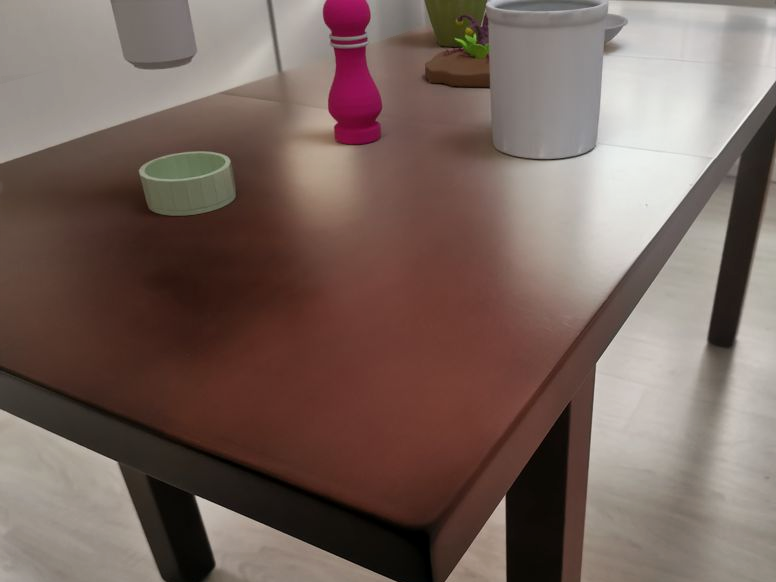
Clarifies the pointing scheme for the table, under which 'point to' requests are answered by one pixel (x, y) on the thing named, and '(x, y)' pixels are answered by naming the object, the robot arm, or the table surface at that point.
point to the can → (155, 32)
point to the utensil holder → (545, 75)
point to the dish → (613, 26)
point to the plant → (464, 59)
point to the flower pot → (453, 19)
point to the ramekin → (188, 183)
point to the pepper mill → (352, 73)
